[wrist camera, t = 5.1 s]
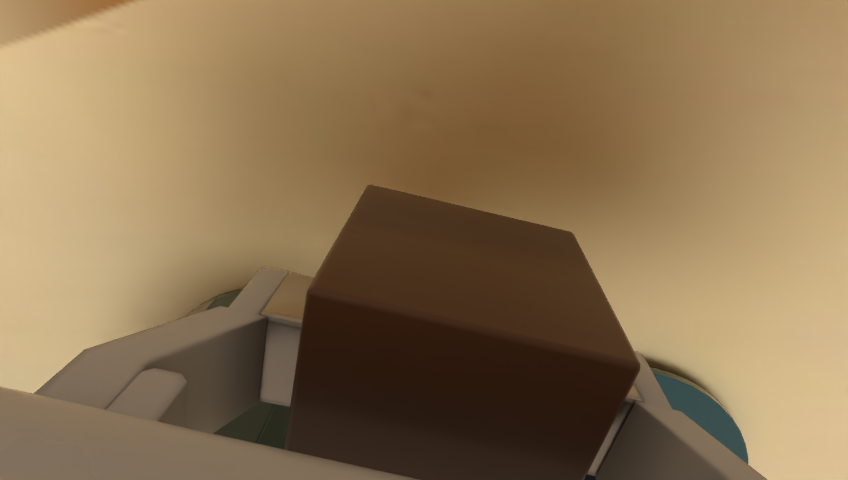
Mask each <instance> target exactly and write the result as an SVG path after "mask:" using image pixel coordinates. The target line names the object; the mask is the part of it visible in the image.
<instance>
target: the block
mask: <svg viewBox="0 0 848 480" xmlns="http://www.w3.org/2000/svg"><path fill="white" fill-rule="evenodd" d="M639 372H640V362H639V360H638V358H637V356H636V354H635V352H634V350H633V348H632V346H631V344H630V342H629V341H628V339H627V337H626V335H625V333H624V331H623V329H622V327H621V325H620V323H619V321H618V319H617V317H616V315H615V313H614V311H613V310H612V308H611V306H610V304H609V302H608V300H607V298H606V296H605V294H604V292H603V290H602V288H601V286H600V284H599V282H598V280H597V278H596V277H595V275H594V273H593V271H592V269H591V267H590V265H589V263H588V261H587V259H586V257H585V255H584V253H583V251H582V249H581V247H580V246H579V244H578V242H577V240H576V238H575V236H574V234H573V233H572V232H569V231H565V230H561V229H556V228H552V227H548V226H544V225H539V224H535V223H531V222H527V221H522V220H518V219H514V218H510V217H506V216H501V215H497V214H493V213H489V212H484V211H480V210H476V209H472V208H467V207H463V206H459V205H455V204H451V203H446V202H442V201H438V200H434V199H429V198H425V197H421V196H417V195H412V194H408V193H404V192H400V191H396V190H391V189H387V188H383V187H379V186H374V185H367V187H366V188H365V190H364V192H363V194H362V195H361V197H360V199H359V201H358V202H357V204H356V206H355V208H354V209H353V211H352V213H351V215H350V216H349V218H348V220H347V221H346V223H345V225H344V227H343V228H342V230H341V232H340V234H339V235H338V237H337V239H336V241H335V242H334V244H333V246H332V248H331V249H330V251H329V253H328V255H327V256H326V258H325V260H324V262H323V263H322V265H321V267H320V269H319V270H318V272H317V274H316V275H315V277H314V279H313V281H312V282H311V284H310V286H309V288H308V289H307V291H306V298H305V305H304V312H303V319H302V326H301V333H300V340H299V347H298V354H297V361H296V368H295V375H294V382H293V389H292V396H291V403H290V410H289V417H288V424H287V432H286V439H285V446H284V450H288V451H293V452H297V453H302V454H306V455H311V456H315V457H320V458H324V459H329V460H333V461H338V462H342V463H347V464H351V465H356V466H360V467H365V468H369V469H374V470H378V471H383V472H387V473H392V474H396V475H401V476H405V477H410V478H414V479H419V480H584V479H585V477H586V475H587V473H588V471H589V469H590V467H591V465H592V463H593V461H594V459H595V457H596V455H597V453H598V452H599V450H600V448H601V446H602V444H603V442H604V440H605V438H606V436H607V434H608V432H609V430H610V428H611V426H612V424H613V422H614V420H615V418H616V416H617V414H618V413H619V411H620V409H621V407H622V405H623V403H624V401H625V399H626V397H627V395H628V393H629V391H630V389H631V387H632V385H633V383H634V381H635V379H636V377H637V375H638V373H639Z"/></svg>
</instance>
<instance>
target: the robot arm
mask: <svg viewBox="0 0 848 480" xmlns="http://www.w3.org/2000/svg"><path fill="white" fill-rule="evenodd" d="M313 279H314V278H312V277H309V276H305V275H301V274H297V273H293V272H289V271H286V270H281V269H276V268H272V267H267V266H265V267H262V268H260V270H259V271H258V272H257V273H256V274H255V276H254V277H253V278H252V279H251V280H250V282H249V283H248V284H247V285H246V287H245V288H244V289H243V290H242V291H241V293H240V294H239V295H238V296H237V298H236V299H235V300H234V301H233V302H232V304H231V305H230V306H229V307H223V306H219V307H216V308H213V309H209V310H206V311H203V312H200V313H197V314H194V315H191V316H188V317H185V318H181V319H178V320H175V321H172V322H169V323H166V324H163V325H160V326H157V327H153V328H150V329H147V330H144V331H141V332H138V333H135V334H132V335H129V336H125V337H122V338H119V339H116V340H113V341H110V342H107V343H104V344H101V345H97V346H94V347H91V348H88V349H85V350H83V351H82V352H81V353H80V354H79V355H78V356H77V357H75V358H74V359H73V360H72V361H71V362H70V363H68V364H67V365H66V366H65V367H64V368H63V369H62V370H60V371H59V372H58V373H57V374H56V375H55V376H53V377H52V378H51V379H50V380H49V381H48V382H47V383H45V384H44V385H43V386H42V387H41V388H40V389H38V390H37V391H36V392H35V393H34V394H32V393H27V392H23V391H18V390H14V389H9V388H5V387H0V480H419V479H414V478H410V477H405V476H401V475H396V474H392V473H387V472H383V471H378V470H374V469H369V468H365V467H360V466H356V465H351V464H347V463H342V462H338V461H333V460H329V459H324V458H320V457H315V456H311V455H306V454H302V453H297V452H293V451H288V450H284V449H279V448H275V447H270V446H266V445H261V444H257V443H252V442H248V441H243V440H239V439H234V438H230V437H225V436H221V435H216V434H213V433H214V432H216V431H217V430H219V429H220V428H222V427H223V426H225V425H226V424H228V423H229V422H231V421H232V420H234V419H235V418H237V417H238V416H240V415H241V414H243V413H244V412H246V411H247V410H249V409H250V408H252V407H253V406H255V405H256V404H257V403H258V401H262V402H267V403H273V404H278V405H283V406H288V407H290V403H291V396H292V389H293V382H294V375H295V368H296V361H297V354H298V347H299V340H300V333H301V326H302V319H303V312H304V305H305V298H306V291H307V289H308V288H309V286H310V284H311V282H312V281H313ZM634 352H635V354H636V356H637V358H638V360H639V362H640V372H639V373H638V375H637V377H636V379H635V381H634V383H633V385H632V387H631V389H630V391H629V393H628V395H627V397H626V399H625V401H624V403H623V405H622V407H621V409H620V411H619V413H618V414H617V416H616V418H615V420H614V422H613V424H612V426H611V428H610V430H609V432H608V434H607V436H606V438H605V440H604V442H603V444H602V446H601V448H600V450H599V452H598V453H597V455H596V457H595V459H594V461H593V463H592V465H591V467H590V469H589V471H588V473H587V474H588V475H592V476H596V478H595V479H596V480H767V479H766V478H764V477H763V476H762V475H761V474H759V473H758V472H757V471H756V470H754V469H753V468H752V467H751V466H749V465H748V464H747V463H745V462H744V461H743V460H742V459H740V458H739V457H738V456H737V455H735V454H734V453H733V452H732V451H730V450H729V449H728V448H727V447H725V446H724V445H723V444H721V443H720V442H719V441H718V440H716V439H715V438H714V437H713V436H711V435H710V434H709V433H708V432H706V431H705V430H704V429H703V428H701V427H700V426H699V425H698V424H696V423H695V422H694V421H692V420H691V419H690V418H689V417H687V416H686V415H685V414H684V413H682V412H681V411H678V410H674V409H672V407H671V406H670V404H669V402H668V400H667V398H666V396H665V395H664V393H663V391H662V389H661V387H660V385H659V383H658V382H657V380H656V378H655V376H654V374H653V372H652V371H651V369H650V367H649V365H648V363H647V361H646V360H645V358H644V356H643V355H642V354H640V353H639V352H637V351H634Z"/></svg>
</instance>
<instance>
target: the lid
mask: <svg viewBox="0 0 848 480" xmlns="http://www.w3.org/2000/svg"><path fill="white" fill-rule="evenodd" d="M650 369H651V371H652V372H653V374H654V376H655V378H656V380H657V382H658V383H659V385H660V387H661V389H662V391H663V393H664V395H665V396H666V398H667V400H668V402H669V404H670V406H671V407H672V409H674V410H678V411H681V412H682V413H684V414H685V415H686V416H687V417H689V418H690V419H691V420H692V421H694V422H695V423H696V424H698V425H699V426H700V427H701V428H703V429H704V430H705V431H706V432H708V433H709V434H710V435H711V436H713V437H714V438H715V439H716V440H718V441H719V442H720V443H721V444H723V445H724V446H725V447H727V448H728V449H729V450H730V451H732V452H733V453H734V454H735V455H737V456H738V457H739V458H740V459H742V460H743V461H744V462H745V463H747V464H748V455H747V449H746V444H745V442H744V439H743V436H742V434H741V431H740V430H739V428H738V426H737V425H736V423H735V422H734V420H733V418H732V417H731V416H730V414H729V413H728V411H727V410H726V409H725V408H724V407H723V406H722V405H721V404H720V402H719V401H718V400H717V399H715V398H714V397H713V396H712V395H711V394H709V393H708V392H707V391H706V390H704V389H703V388H701V387H699V386H698V385H696V384H694V383H693V382H691V381H689V380H687V379H685V378H682V377H680V376H678V375H675V374H673V373H670V372H667V371H663V370H660V369H656V368H653V367H650ZM595 478H596V476H592V475H588V474H587V475H586V477H585V479H584V480H596V479H595Z"/></svg>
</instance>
